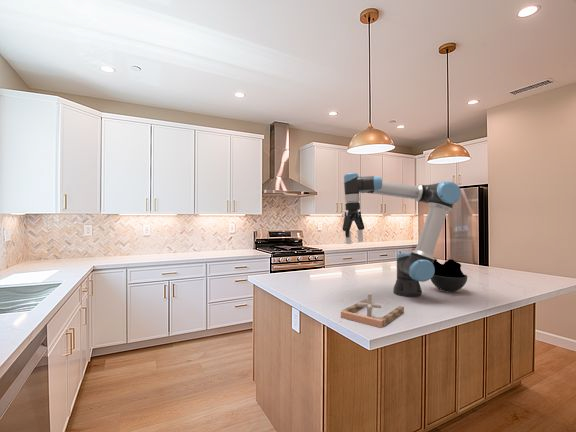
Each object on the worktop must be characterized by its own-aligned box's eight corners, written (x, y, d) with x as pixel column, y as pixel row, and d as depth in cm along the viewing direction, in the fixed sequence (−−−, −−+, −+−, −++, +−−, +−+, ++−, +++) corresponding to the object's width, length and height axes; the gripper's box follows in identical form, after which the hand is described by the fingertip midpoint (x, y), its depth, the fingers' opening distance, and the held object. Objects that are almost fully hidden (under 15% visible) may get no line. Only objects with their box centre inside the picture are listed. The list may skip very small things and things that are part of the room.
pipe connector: (382, 321, 123) (382, 297, 123) (357, 319, 125) (358, 295, 125) (379, 314, 133) (380, 292, 133) (357, 312, 135) (357, 290, 135)
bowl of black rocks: (471, 291, 174) (471, 259, 174) (461, 297, 160) (461, 263, 160) (435, 285, 189) (436, 256, 189) (423, 291, 174) (423, 259, 175)
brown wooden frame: (365, 304, 147) (365, 299, 147) (403, 312, 135) (403, 307, 135) (342, 316, 130) (342, 310, 130) (384, 326, 117) (384, 320, 117)
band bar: (343, 316, 129) (343, 310, 129) (382, 326, 118) (382, 320, 118) (340, 317, 128) (340, 311, 128) (380, 327, 116) (380, 321, 116)
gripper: (356, 203, 167) (358, 241, 167) (334, 202, 148) (336, 244, 147) (369, 202, 162) (371, 240, 162) (347, 201, 143) (350, 244, 143)
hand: (354, 242), depth 155 cm, fingers open, 13 cm apart
